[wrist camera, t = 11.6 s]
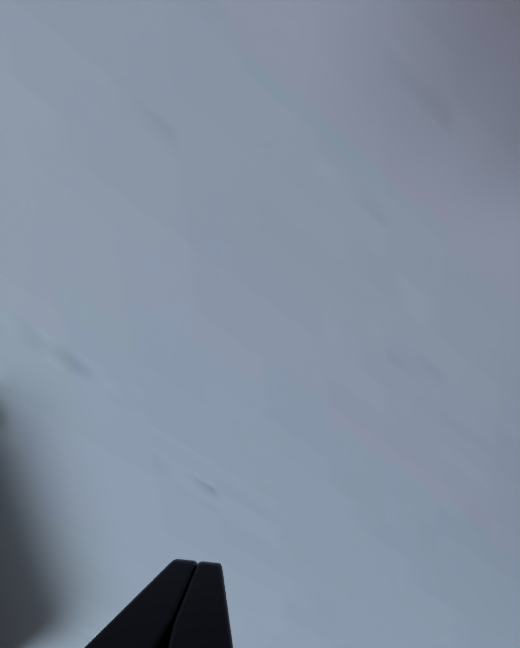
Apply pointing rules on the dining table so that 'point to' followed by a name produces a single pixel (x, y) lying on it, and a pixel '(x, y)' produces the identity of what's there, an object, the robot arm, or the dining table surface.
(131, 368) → the dining table surface
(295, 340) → the dining table surface
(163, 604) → the robot arm
